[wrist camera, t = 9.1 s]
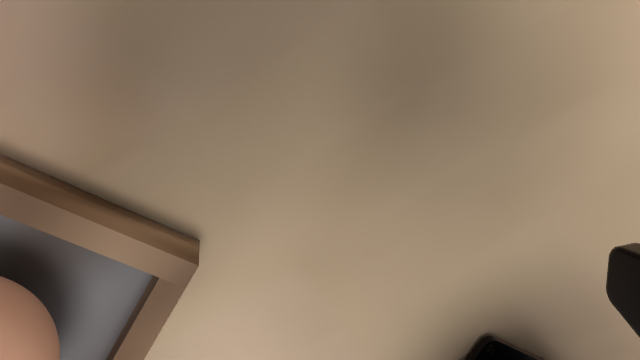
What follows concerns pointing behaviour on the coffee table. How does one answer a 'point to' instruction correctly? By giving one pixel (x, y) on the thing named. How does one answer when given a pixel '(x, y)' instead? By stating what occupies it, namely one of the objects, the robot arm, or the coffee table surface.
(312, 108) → the coffee table surface
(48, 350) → the ball
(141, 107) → the coffee table surface
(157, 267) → the walnut tray
